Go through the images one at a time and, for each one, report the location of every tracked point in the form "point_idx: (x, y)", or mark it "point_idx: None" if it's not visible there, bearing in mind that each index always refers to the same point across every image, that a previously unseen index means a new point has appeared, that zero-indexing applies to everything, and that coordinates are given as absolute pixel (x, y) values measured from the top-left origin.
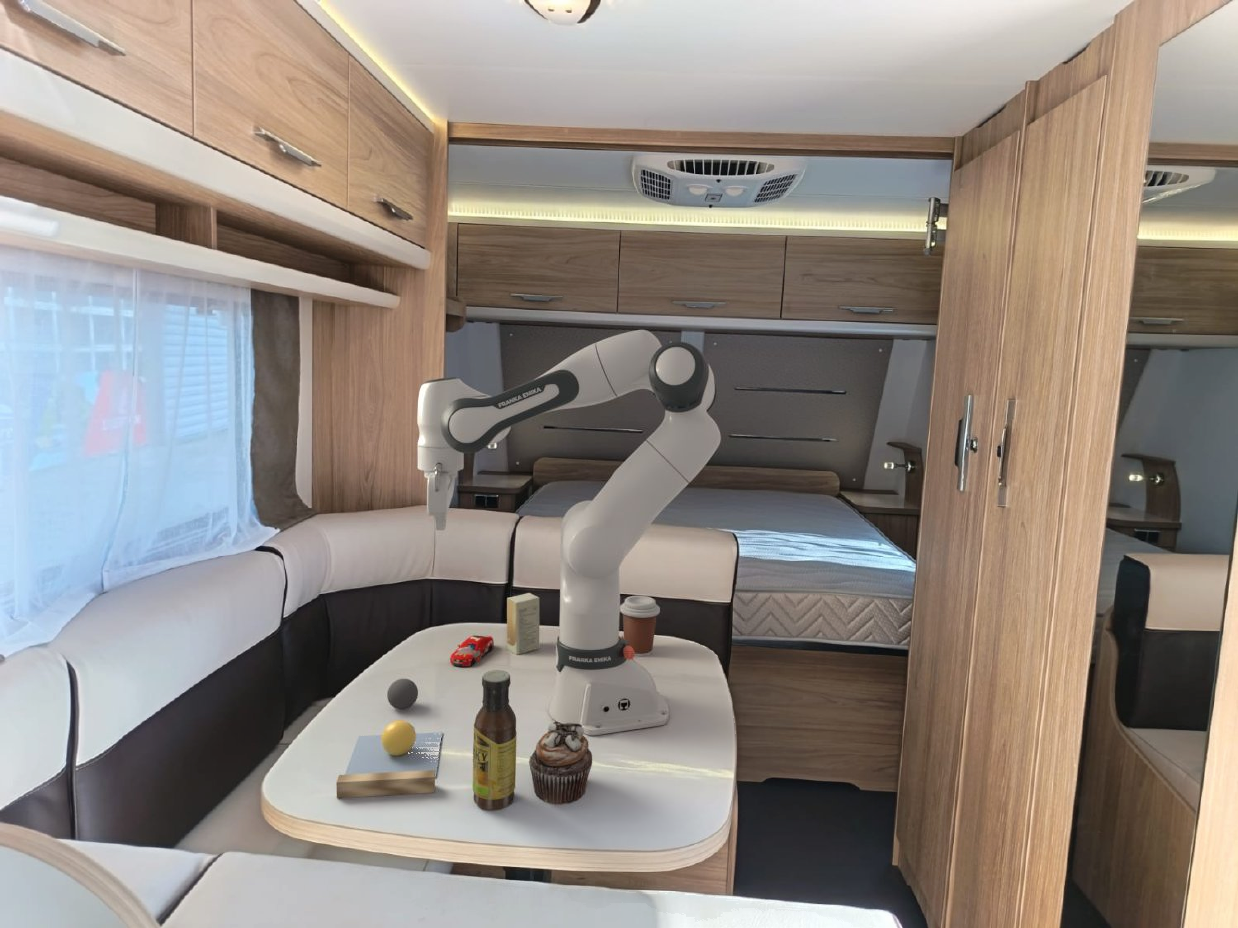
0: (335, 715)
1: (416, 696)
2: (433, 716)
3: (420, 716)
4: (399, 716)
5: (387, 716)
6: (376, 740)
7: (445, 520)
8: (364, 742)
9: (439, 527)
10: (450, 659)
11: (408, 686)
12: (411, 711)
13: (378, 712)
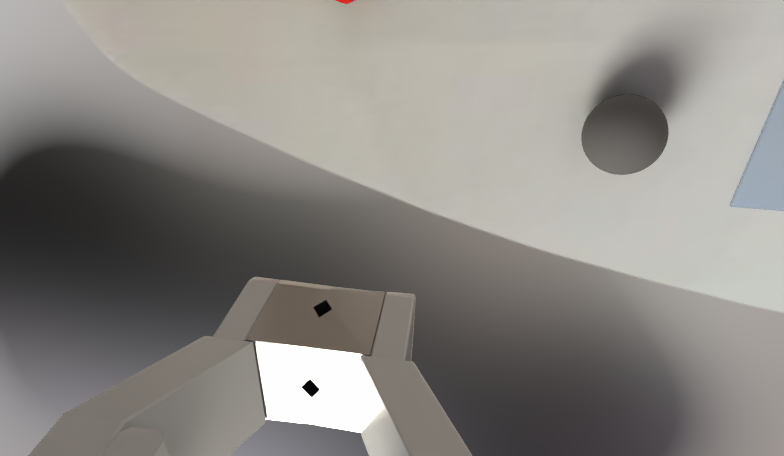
0: (602, 252)
1: (646, 98)
2: (695, 42)
3: (680, 76)
4: None
5: None
6: (772, 171)
7: (298, 339)
8: (769, 194)
9: (410, 352)
10: (350, 2)
11: (658, 130)
12: None
13: None
